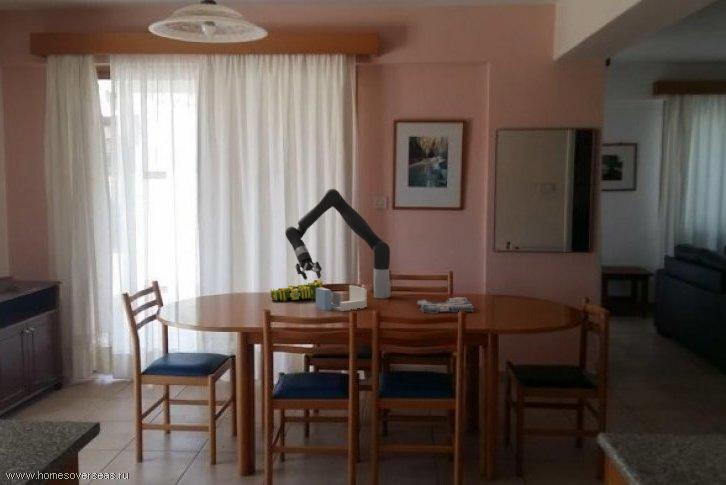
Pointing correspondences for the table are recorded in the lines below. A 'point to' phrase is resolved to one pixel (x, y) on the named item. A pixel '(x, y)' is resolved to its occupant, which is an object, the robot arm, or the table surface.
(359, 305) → the white open holder
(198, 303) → the table surface
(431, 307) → the futuristic firearm
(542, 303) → the table surface
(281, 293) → the toy
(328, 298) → the light blue rectangular block
